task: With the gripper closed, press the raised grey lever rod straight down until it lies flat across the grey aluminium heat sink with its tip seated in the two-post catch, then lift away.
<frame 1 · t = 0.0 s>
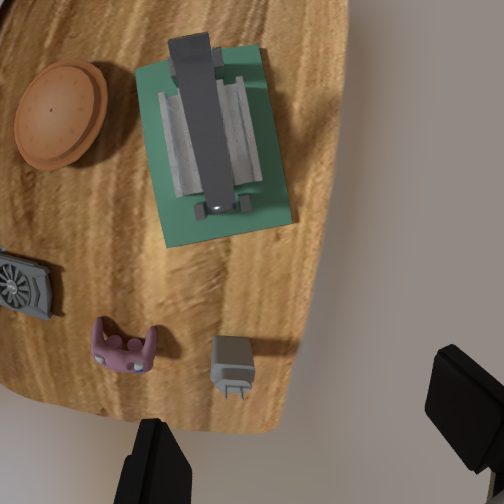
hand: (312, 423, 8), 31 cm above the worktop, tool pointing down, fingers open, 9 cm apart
graphics card: (19, 285, 38), on the worktop
pie: (69, 116, 33), on the worktop
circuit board: (211, 140, 35), on the worktop
power adapter: (231, 345, 42), on the worktop
video game controller: (127, 336, 41), on the worktop
heat sink: (208, 132, 31), on the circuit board, point 4 cm above the worktop
grey lever rod: (207, 136, 25), point 11 cm above the worktop, hinge at 35.0°
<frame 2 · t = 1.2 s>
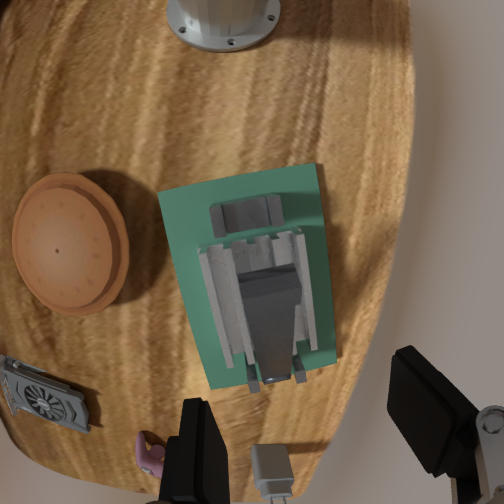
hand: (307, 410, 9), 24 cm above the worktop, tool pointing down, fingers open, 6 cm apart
graphics card: (48, 395, 35), on the worktop
pie: (78, 240, 30), on the worktop
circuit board: (256, 286, 33), on the worktop
power adapter: (268, 449, 40), on the worktop
video game controller: (169, 444, 38), on the worktop
heat sink: (260, 296, 29), on the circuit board, point 4 cm above the worktop
grey lever rod: (274, 348, 22), point 11 cm above the worktop, hinge at 35.0°
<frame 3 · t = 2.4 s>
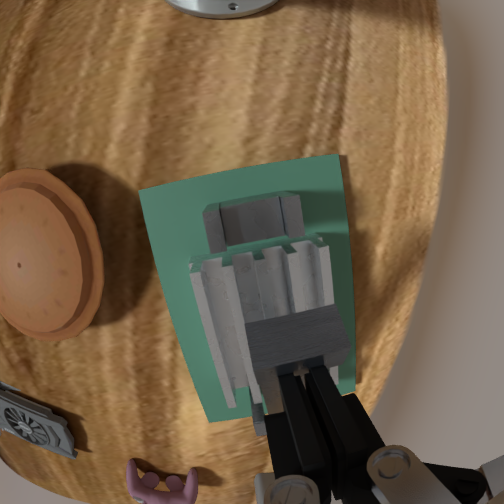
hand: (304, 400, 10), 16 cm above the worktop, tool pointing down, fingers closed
graphics card: (30, 416, 29), on the worktop
pie: (49, 250, 24), on the worktop
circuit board: (264, 306, 26), on the worktop
power adapter: (273, 477, 34), on the worktop
video game controller: (163, 471, 32), on the worktop
heat sink: (269, 323, 22), on the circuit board, point 4 cm above the worktop
grey lever rod: (290, 398, 16), point 11 cm above the worktop, hinge at 34.1°, touching gripper
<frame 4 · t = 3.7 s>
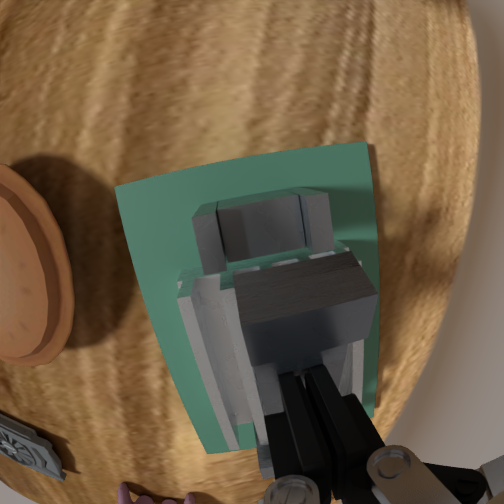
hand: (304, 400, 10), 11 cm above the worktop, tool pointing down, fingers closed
graphics card: (15, 434, 24), on the worktop
pie: (17, 259, 19), on the worktop
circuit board: (272, 329, 21), on the worktop
power adapter: (278, 500, 29), on the worktop
video game controller: (158, 494, 27), on the worktop
heat sink: (281, 355, 17), on the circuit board, point 4 cm above the worktop
grey lever rod: (301, 423, 12), point 9 cm above the worktop, hinge at 21.2°, touching gripper
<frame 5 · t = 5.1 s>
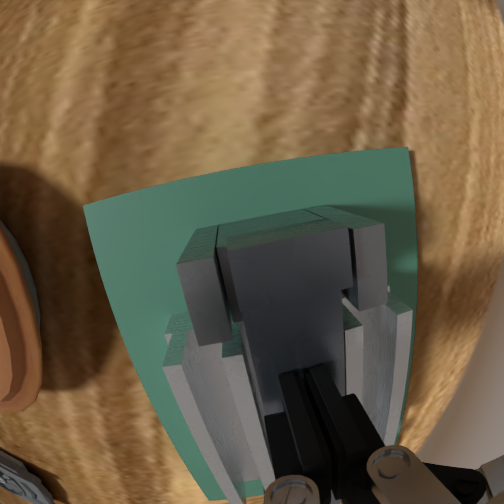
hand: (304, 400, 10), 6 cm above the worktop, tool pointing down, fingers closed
graphics card: (4, 462, 19), on the worktop
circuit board: (285, 377, 17), on the worktop
heat sink: (299, 418, 13), on the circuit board, point 4 cm above the worktop
grey lever rod: (310, 450, 10), point 6 cm above the worktop, hinge at 0.4°, touching gripper
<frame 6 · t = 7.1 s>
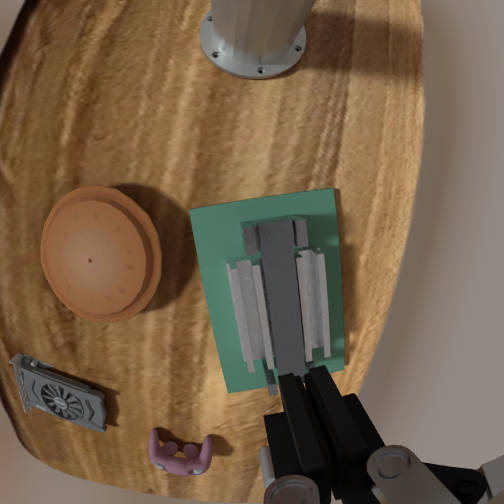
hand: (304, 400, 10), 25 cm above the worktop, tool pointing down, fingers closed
graphics card: (64, 394, 37), on the worktop
pie: (107, 250, 33), on the worktop
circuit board: (276, 298, 36), on the worktop
power adapter: (276, 450, 42), on the worktop
video game controller: (181, 440, 40), on the worktop
heat sink: (281, 307, 32), on the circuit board, point 4 cm above the worktop
grey lever rod: (285, 314, 29), point 6 cm above the worktop, hinge at 0.4°
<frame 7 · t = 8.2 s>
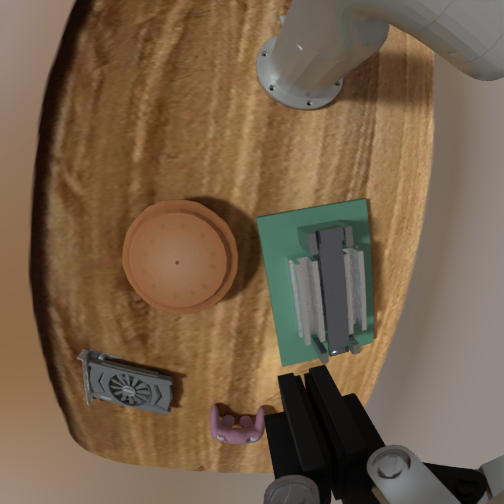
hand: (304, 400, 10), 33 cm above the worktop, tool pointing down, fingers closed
graphics card: (128, 383, 47), on the worktop
pie: (182, 253, 42), on the worktop
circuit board: (322, 286, 45), on the worktop
video game controller: (237, 413, 50), on the worktop
heat sink: (330, 292, 40), on the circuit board, point 4 cm above the worktop
grey lever rod: (336, 297, 38), point 6 cm above the worktop, hinge at 0.4°
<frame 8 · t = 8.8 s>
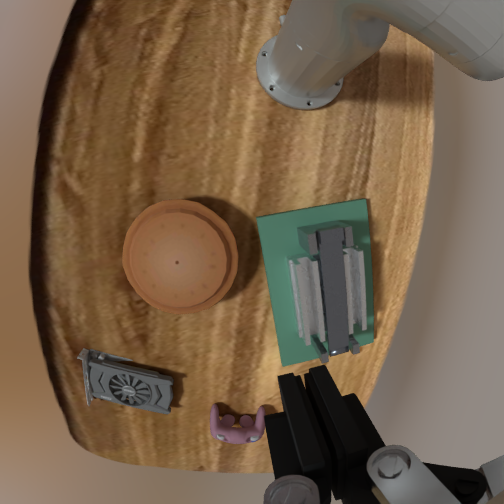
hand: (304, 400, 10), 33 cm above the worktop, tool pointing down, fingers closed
graphics card: (128, 383, 47), on the worktop
pie: (182, 253, 42), on the worktop
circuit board: (322, 286, 45), on the worktop
video game controller: (237, 413, 50), on the worktop
heat sink: (330, 292, 40), on the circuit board, point 4 cm above the worktop
grey lever rod: (336, 297, 38), point 6 cm above the worktop, hinge at 0.4°
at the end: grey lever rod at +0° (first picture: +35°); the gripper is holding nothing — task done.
